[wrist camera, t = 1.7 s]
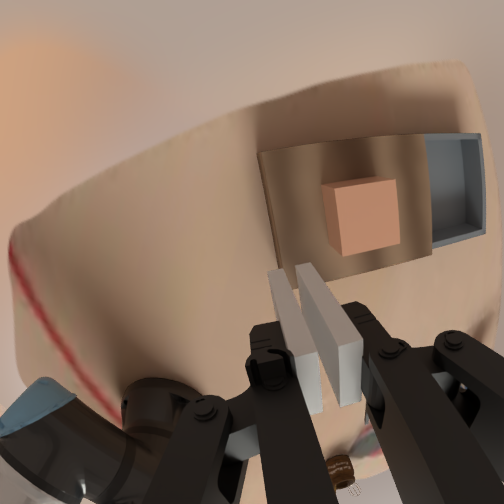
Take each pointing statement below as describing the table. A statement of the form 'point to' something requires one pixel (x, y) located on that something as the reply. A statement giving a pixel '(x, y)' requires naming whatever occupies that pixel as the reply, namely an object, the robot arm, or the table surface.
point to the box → (456, 186)
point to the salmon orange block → (361, 214)
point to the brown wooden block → (335, 170)
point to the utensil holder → (340, 472)
